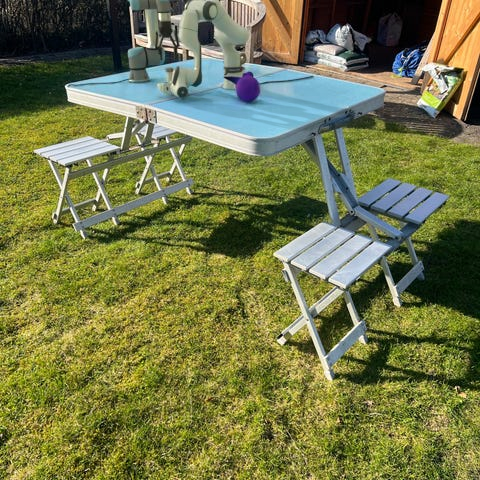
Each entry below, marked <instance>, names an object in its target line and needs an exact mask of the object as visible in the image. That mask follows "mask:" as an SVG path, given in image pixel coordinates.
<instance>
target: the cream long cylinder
mask: <svg viewBox="0 0 480 480" xmlns="http://www.w3.org/2000/svg"><path fill="white" fill-rule="evenodd" d="M165 74H166V82H170V81H171V75H172V72H166V71H165ZM168 95H169V96H174V95H173V94H168Z"/></svg>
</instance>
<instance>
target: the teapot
mask: <svg viewBox="0 0 480 480" xmlns="http://www.w3.org/2000/svg"><path fill="white" fill-rule="evenodd" d="M239 54H240V66H242V67H243V65H245V64H246V63H247V55H246V52H241V53H239ZM241 58H242V59H241ZM222 61H223V62H222V63H223V64H224V59H223V60H222Z"/></svg>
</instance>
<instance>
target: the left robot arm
mask: <svg viewBox="0 0 480 480" xmlns="http://www.w3.org/2000/svg"><path fill="white" fill-rule="evenodd" d="M126 1H127V2H128V3H129V5H130V9H131V10H132V11H144V17H145V27H146V37H147V44H146V46H145V48H144V47H143V46H137V47H132V48H130V49H128V50H127V57H128V64H129V65H128V66H129V76H128V78H126V79H123V80H119V81H113V82H89V83H88V82H87V83H80V84H71V83H70V84H68V85H67V88H69V87H70V86H71V87H72V86H73V87H74V86H75V87H80V86H85V85H86V86H87V85H107V84H109V85H110V84H118V83H122V82H125V81H126V82H127V81H128V82H129V83H133V84H141V83H148V82H150V76H149V74H148V71H147V66H161V65H164V63H165V61H166V51H165V50H166V49H165V47H163V45H162V44H163V41H164V39H165V38H169V39H170V41H171V43H172V46H173V59H174V60H177V59H178V58H177V54H178V48H180V47H181V45H180V40H179V36H178V31H177V29H173V28H172V27H173V25H172V17H171V5H170V0H126ZM172 34H173V35H172ZM173 37H174V38H173ZM72 131H73V133H75V129H73V130H72Z"/></svg>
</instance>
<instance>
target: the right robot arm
mask: <svg viewBox="0 0 480 480" xmlns="http://www.w3.org/2000/svg"><path fill="white" fill-rule="evenodd" d="M201 21H203V22H204V21H207V22H211V23H212V24H213V27H214V28H215V30H214V33H213V38H214V40H215V41H216V42H217V43H218V45H219V46H220V49H221V51H222V55H223V60H224V63H223V69H222V71H223V82H222V87H221V88H222V89H224V90H232V91H236V84H234V83H232V82H230V81H229V80H227V79H225V78H224V76H233V77H242V76H243V73H245V72H244V71H245V70H246V67H245V66H243V65H242V66H240V60H241V58H240V54H241V53H240V51H238V50H237V49H236V48H235V45H236V46H241V45H245V44H246V43H248V41H249V39H250V38H249V37H250V36H249V35H250V34H249V30H248V29H247V28H246V27H244V26H242V25H240V24H239V23H237V21H235V20H234V19H233V18H232V17H231V16H230V14H229V13H228V12H227V10H226V9H225V7H224V5H223V3H221V2H220V1H219V0H188V1H186V3H185V5H184V10H183V11H182V13H181V17H180V21H179V26H178V32H177V37H178V41H179V42H180V43H181V45H184V47H185V48H187V49H189V50H190V51H191V53H192V54H193V68H188V67H184V66H179V65H178V66H175V68H173V72H172V75H171V81H170V82H167V81H166V82H160V83H159V82H158V83H157V84H156V86H157V90H158V91H159V92H160V93H162V94H163V95H169V94H173V95H172V96H175V97H176V98H178V99H184V98H186V97H188V95H189V88H190V87H194V88H197V87H199V86H200V85H201V84H202V82H203V72H202V71H203V70H202V66H203V65H202V61H203V59H202V53H203V52H202V44H201V42H200V41H199V37H198V30H199V22H201ZM311 78H314V75H308V76H304V77H299V78H294V79H287V80H286V79H285V80H274V81H273V80H271V81H263V82H259V84H260V85H265V84H270V83H271V84H272V83H273V84H274V83H288V82H295V81H300V80H305V79H311Z"/></svg>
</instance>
